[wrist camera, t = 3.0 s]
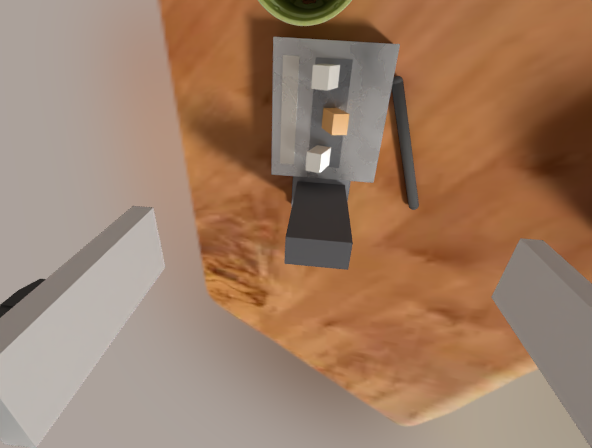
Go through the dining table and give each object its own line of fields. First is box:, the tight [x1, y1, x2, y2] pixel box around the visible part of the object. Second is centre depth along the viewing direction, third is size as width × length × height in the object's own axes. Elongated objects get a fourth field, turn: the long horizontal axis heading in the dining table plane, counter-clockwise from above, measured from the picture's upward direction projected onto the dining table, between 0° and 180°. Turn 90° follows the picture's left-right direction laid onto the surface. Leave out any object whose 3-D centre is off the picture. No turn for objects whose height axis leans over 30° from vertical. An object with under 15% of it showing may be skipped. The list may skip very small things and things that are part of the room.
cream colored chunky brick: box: [311, 64, 340, 91], centre depth 29 cm, size 2×2×3 cm
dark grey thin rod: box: [392, 76, 419, 210], centre depth 36 cm, size 16×1×1 cm, turn 17°
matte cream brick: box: [306, 145, 331, 173], centre depth 33 cm, size 2×2×3 cm
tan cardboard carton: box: [322, 108, 350, 135], centre depth 31 cm, size 2×2×3 cm
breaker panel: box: [272, 37, 400, 183], centre depth 34 cm, size 14×12×3 cm
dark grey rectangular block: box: [285, 176, 353, 270], centre depth 35 cm, size 4×7×14 cm, turn 87°
